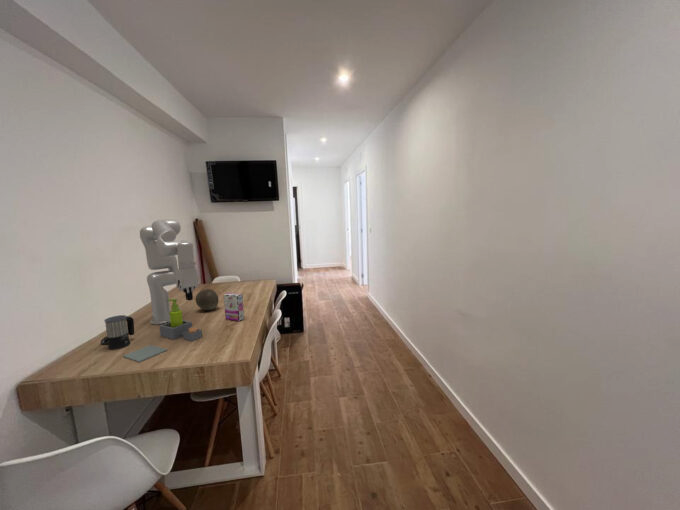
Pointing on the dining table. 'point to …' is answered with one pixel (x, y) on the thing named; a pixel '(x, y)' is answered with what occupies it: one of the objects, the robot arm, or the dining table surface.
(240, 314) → the candy bar box
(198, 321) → the dining table surface
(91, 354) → the dining table surface
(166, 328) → the holder
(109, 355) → the dining table surface
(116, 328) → the milk frother
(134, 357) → the mat
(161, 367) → the dining table surface
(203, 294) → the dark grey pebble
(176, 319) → the soap dispenser
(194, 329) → the tan ball
